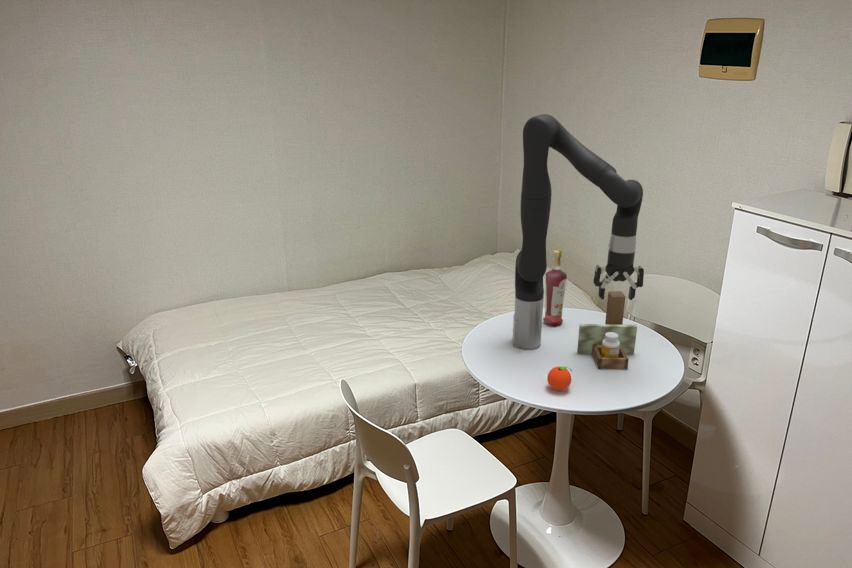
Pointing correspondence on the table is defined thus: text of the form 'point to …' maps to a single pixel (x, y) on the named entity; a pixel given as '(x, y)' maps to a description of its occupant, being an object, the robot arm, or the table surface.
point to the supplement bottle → (610, 345)
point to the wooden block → (615, 308)
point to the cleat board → (595, 335)
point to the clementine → (559, 378)
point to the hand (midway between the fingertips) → (616, 298)
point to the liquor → (555, 291)
